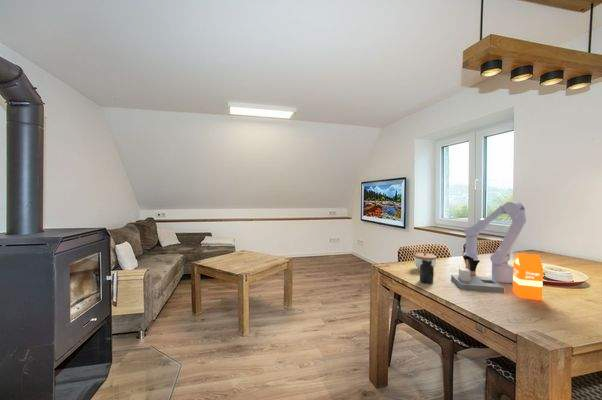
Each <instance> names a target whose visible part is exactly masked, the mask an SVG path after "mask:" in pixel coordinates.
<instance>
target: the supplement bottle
mask: <svg viewBox="0 0 602 400" xmlns="http://www.w3.org/2000/svg"><path fill="white" fill-rule="evenodd" d="M431 264H432V260H429V259H422V264H421V265H420V270H419V282H421V283H422V284H428V285H429V284H430V285H431V284H433V283H434V274H435V273H434V272H435V271H434V268H435V267H433V266H432V265H431Z"/></svg>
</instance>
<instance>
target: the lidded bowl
mask: <svg viewBox="0 0 602 400" xmlns="http://www.w3.org/2000/svg"><path fill="white" fill-rule="evenodd" d="M413 256H414V259H413V260H414V264H415V267H416V268H417V269H418V271H420V265H421V264H422V259H429V260H432V264H431V265H432V266H433V267H434V268H435V266H436V264H437V255H435V254H432V253H427V252H426V251H424V252H416V253H414V255H413Z"/></svg>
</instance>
